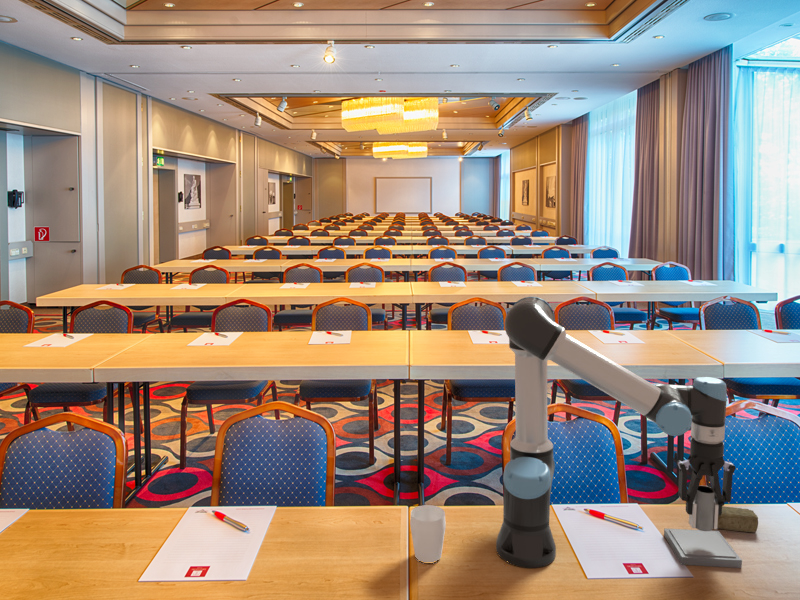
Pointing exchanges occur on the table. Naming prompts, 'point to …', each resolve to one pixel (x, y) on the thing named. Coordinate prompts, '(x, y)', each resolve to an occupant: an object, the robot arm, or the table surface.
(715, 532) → the kitchen scale
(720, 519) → the stone block
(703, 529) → the grey tube
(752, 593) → the table surface
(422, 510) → the cup
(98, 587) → the table surface
